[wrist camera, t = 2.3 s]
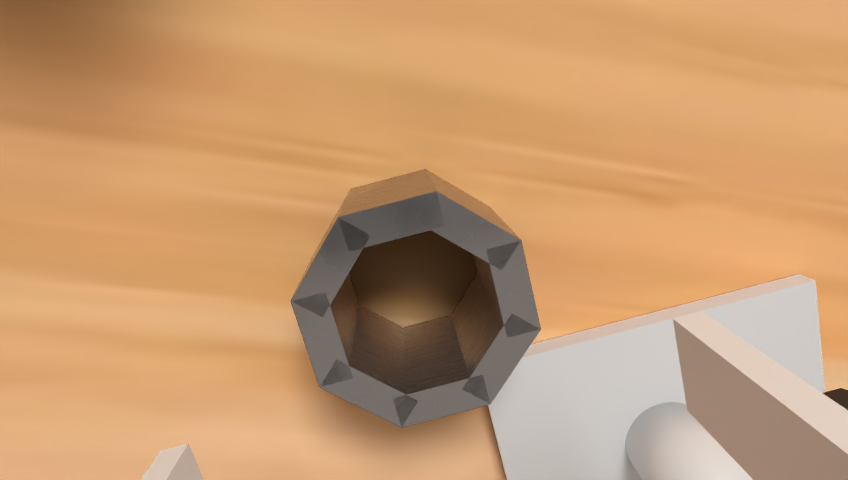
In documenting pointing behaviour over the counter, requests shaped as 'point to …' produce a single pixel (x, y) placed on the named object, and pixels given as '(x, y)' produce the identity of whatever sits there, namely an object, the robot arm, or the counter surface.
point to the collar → (426, 342)
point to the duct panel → (641, 391)
